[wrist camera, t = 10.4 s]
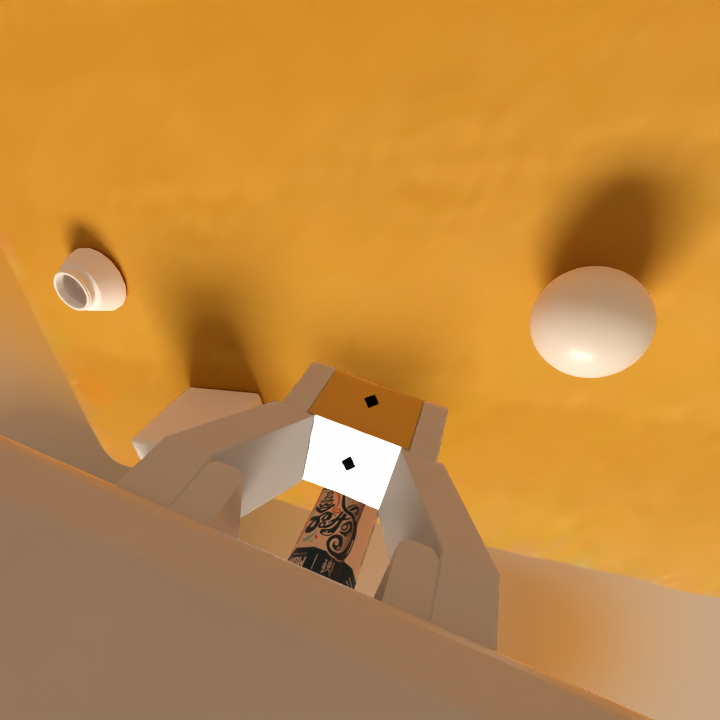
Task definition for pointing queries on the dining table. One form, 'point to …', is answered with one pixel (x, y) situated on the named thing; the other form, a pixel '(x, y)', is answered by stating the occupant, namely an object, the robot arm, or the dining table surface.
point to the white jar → (90, 282)
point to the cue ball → (593, 321)
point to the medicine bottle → (193, 414)
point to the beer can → (336, 537)
